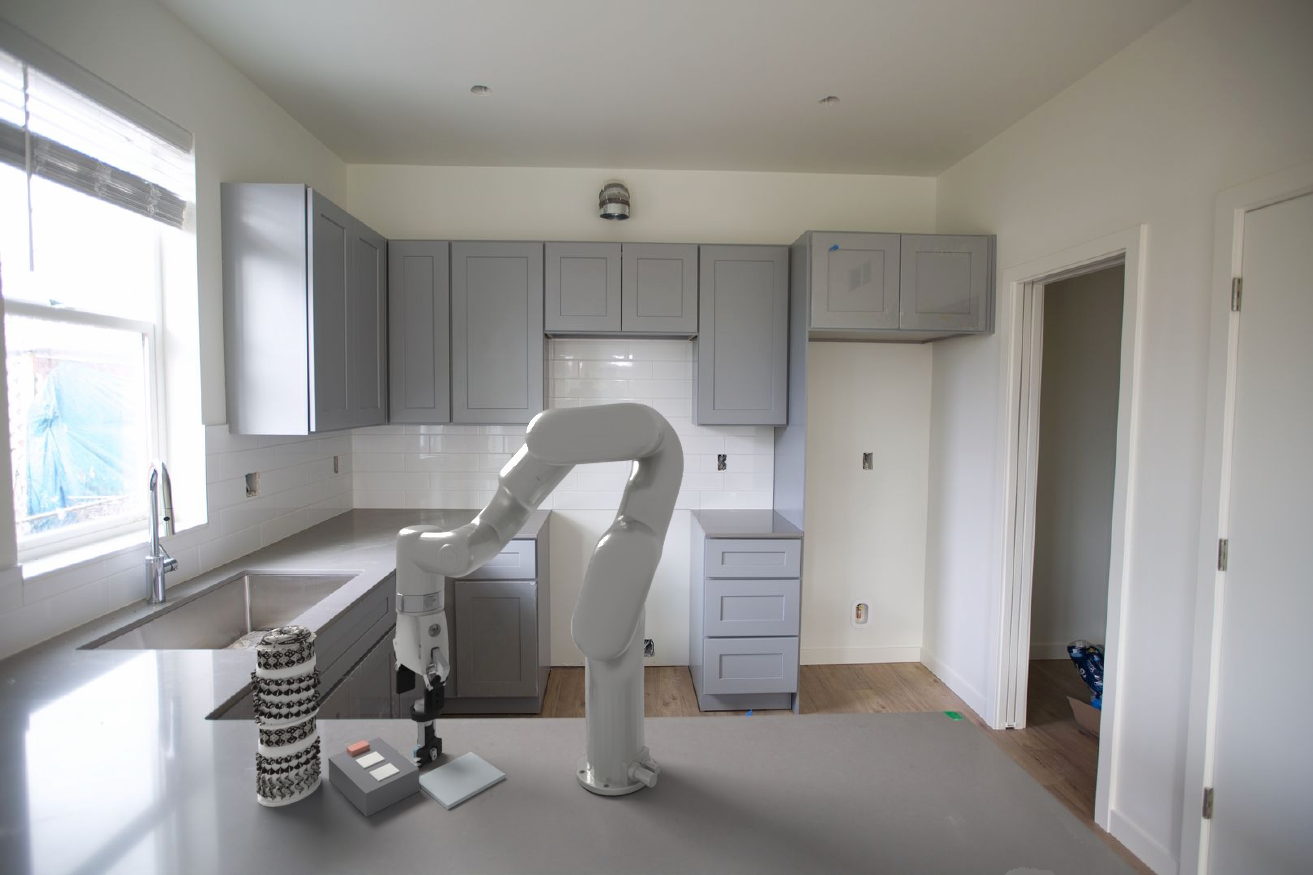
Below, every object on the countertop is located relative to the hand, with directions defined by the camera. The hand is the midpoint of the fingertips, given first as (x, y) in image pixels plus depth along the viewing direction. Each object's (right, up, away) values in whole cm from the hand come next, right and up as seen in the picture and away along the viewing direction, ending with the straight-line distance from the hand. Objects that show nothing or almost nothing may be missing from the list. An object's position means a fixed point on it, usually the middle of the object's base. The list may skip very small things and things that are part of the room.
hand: (419, 700), depth 98 cm
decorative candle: (-17, -11, -7) cm, 22 cm away
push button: (+1, -11, 0) cm, 11 cm away
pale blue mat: (+9, -10, -5) cm, 15 cm away
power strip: (-5, -11, -6) cm, 13 cm away
